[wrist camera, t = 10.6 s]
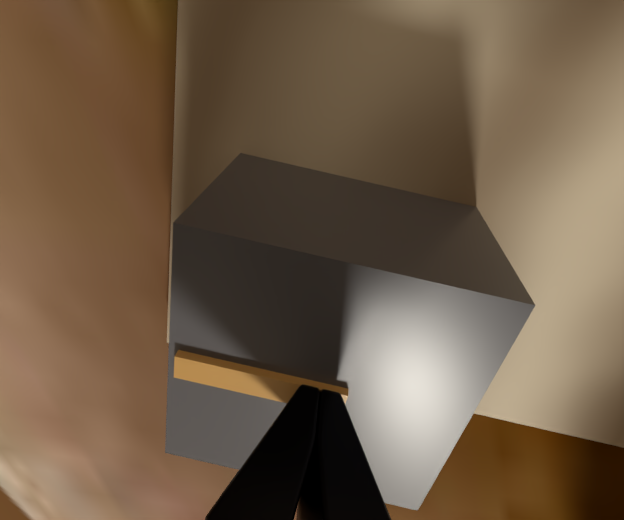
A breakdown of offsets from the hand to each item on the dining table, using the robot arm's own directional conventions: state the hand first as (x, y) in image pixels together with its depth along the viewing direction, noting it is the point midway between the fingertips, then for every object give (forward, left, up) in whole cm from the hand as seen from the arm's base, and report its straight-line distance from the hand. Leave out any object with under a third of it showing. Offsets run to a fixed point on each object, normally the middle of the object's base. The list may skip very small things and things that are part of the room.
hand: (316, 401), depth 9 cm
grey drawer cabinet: (0, 0, -5) cm, 5 cm away
